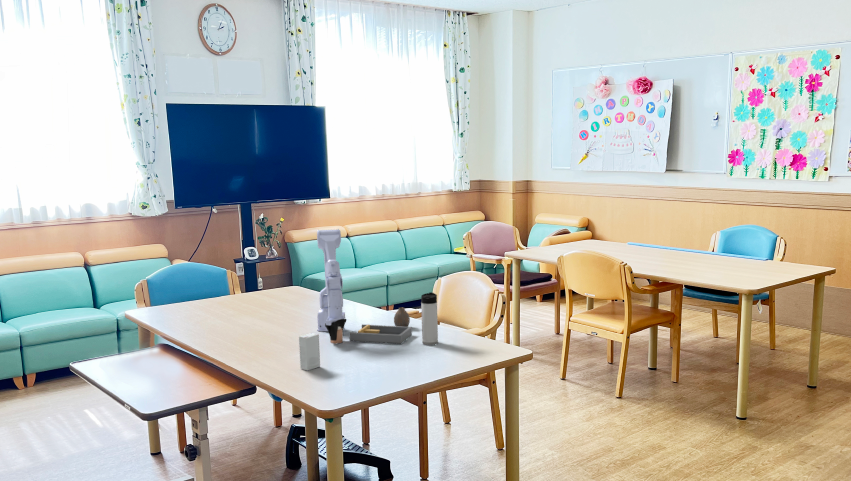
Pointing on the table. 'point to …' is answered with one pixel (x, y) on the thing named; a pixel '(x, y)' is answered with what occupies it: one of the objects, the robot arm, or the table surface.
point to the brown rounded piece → (401, 318)
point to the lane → (383, 334)
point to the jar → (338, 336)
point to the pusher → (368, 330)
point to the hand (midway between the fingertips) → (336, 338)
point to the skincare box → (309, 351)
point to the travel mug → (429, 319)
